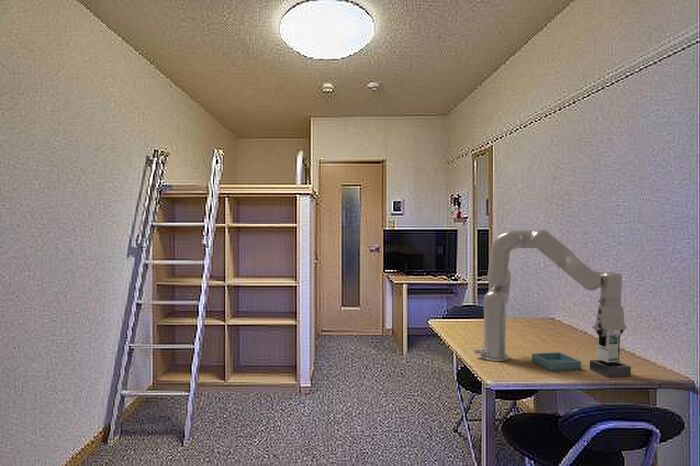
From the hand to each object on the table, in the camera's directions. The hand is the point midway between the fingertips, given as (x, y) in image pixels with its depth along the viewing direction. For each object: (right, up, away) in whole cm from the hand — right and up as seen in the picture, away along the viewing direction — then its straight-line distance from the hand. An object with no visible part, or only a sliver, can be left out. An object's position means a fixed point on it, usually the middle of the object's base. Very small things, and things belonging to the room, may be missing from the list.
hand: (608, 344), depth 189 cm
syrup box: (0, -7, 0) cm, 7 cm away
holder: (0, -12, 0) cm, 12 cm away
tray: (-18, -11, +10) cm, 23 cm away
